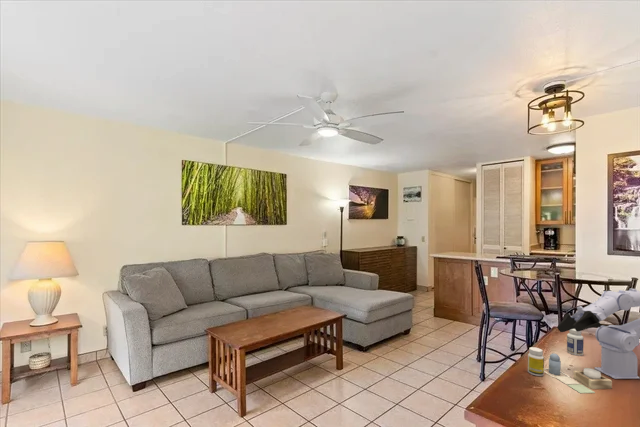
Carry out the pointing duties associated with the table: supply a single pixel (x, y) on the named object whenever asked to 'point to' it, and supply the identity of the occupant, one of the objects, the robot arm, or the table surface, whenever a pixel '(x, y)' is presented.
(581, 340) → the pill bottle
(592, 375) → the dome
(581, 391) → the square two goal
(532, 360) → the supplement bottle
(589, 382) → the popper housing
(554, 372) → the pawn
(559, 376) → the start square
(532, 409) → the table surface
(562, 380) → the square
